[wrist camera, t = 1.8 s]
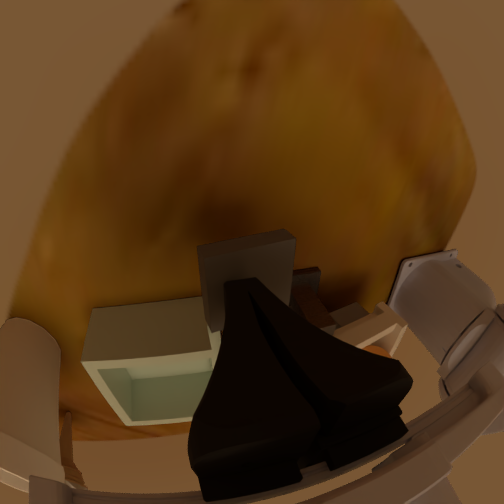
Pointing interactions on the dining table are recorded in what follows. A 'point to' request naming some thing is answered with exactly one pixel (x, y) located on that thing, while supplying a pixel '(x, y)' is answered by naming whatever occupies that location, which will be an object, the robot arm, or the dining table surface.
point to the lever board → (285, 287)
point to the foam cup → (29, 404)
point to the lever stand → (310, 299)
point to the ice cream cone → (69, 456)
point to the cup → (151, 359)
